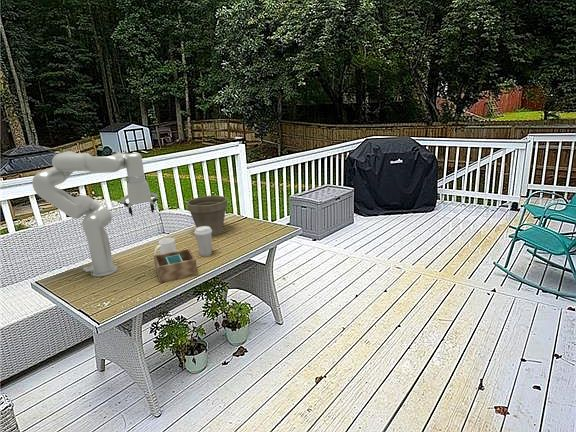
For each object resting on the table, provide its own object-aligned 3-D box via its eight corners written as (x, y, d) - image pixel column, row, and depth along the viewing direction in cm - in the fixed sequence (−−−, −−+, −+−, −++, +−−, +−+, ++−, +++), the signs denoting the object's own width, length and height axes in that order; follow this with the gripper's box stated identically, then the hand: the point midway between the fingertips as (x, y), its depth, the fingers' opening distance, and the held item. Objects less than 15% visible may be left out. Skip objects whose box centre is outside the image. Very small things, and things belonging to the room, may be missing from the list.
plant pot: (189, 229, 262) (185, 197, 255) (226, 224, 269) (223, 193, 262) (192, 241, 239) (188, 207, 232) (232, 236, 246) (229, 202, 239)
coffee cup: (197, 258, 215) (194, 232, 210) (196, 251, 224) (193, 226, 219) (215, 255, 217) (212, 230, 212) (213, 249, 226) (211, 224, 221)
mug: (159, 264, 209) (156, 246, 206) (152, 260, 214) (149, 242, 211) (179, 257, 217) (177, 240, 214) (172, 253, 222) (169, 236, 219)
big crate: (160, 282, 188) (157, 267, 186) (155, 270, 202) (153, 255, 200) (197, 274, 196) (195, 259, 193) (190, 262, 209) (189, 248, 207)
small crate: (170, 276, 192) (168, 264, 191) (166, 267, 202) (165, 257, 200) (184, 273, 195) (183, 261, 193) (180, 264, 205) (179, 254, 203)
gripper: (117, 183, 182) (123, 218, 187) (156, 178, 189) (161, 212, 194) (116, 180, 189) (122, 214, 194) (154, 175, 196) (159, 208, 201)
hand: (142, 213), depth 194 cm, fingers open, 9 cm apart
